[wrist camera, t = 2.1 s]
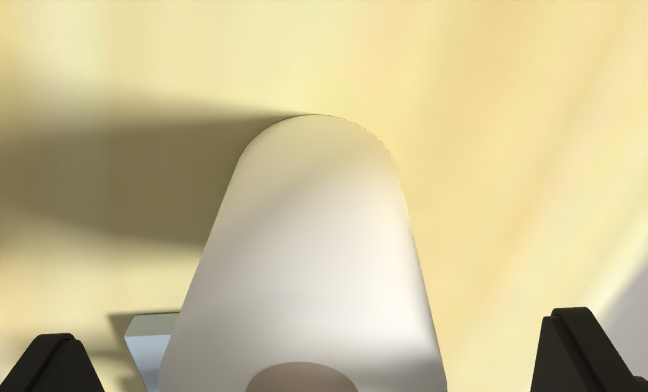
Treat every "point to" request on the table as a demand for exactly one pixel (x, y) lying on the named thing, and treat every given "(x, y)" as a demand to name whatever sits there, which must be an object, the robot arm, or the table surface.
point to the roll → (308, 275)
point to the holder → (149, 344)
